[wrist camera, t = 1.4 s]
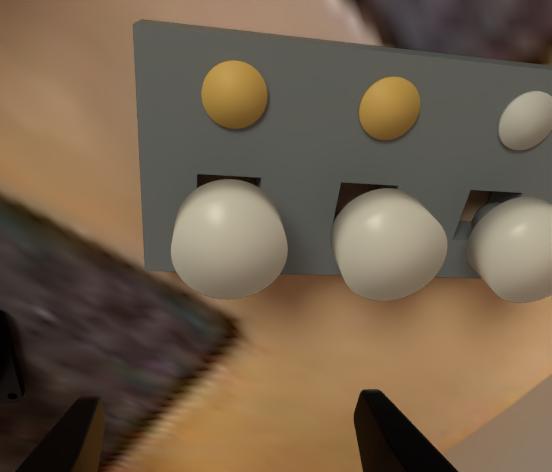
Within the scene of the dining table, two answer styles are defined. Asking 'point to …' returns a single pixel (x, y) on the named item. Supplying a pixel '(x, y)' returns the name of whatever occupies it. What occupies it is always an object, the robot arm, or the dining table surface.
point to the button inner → (228, 240)
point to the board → (332, 130)
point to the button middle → (387, 244)
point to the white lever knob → (513, 248)
